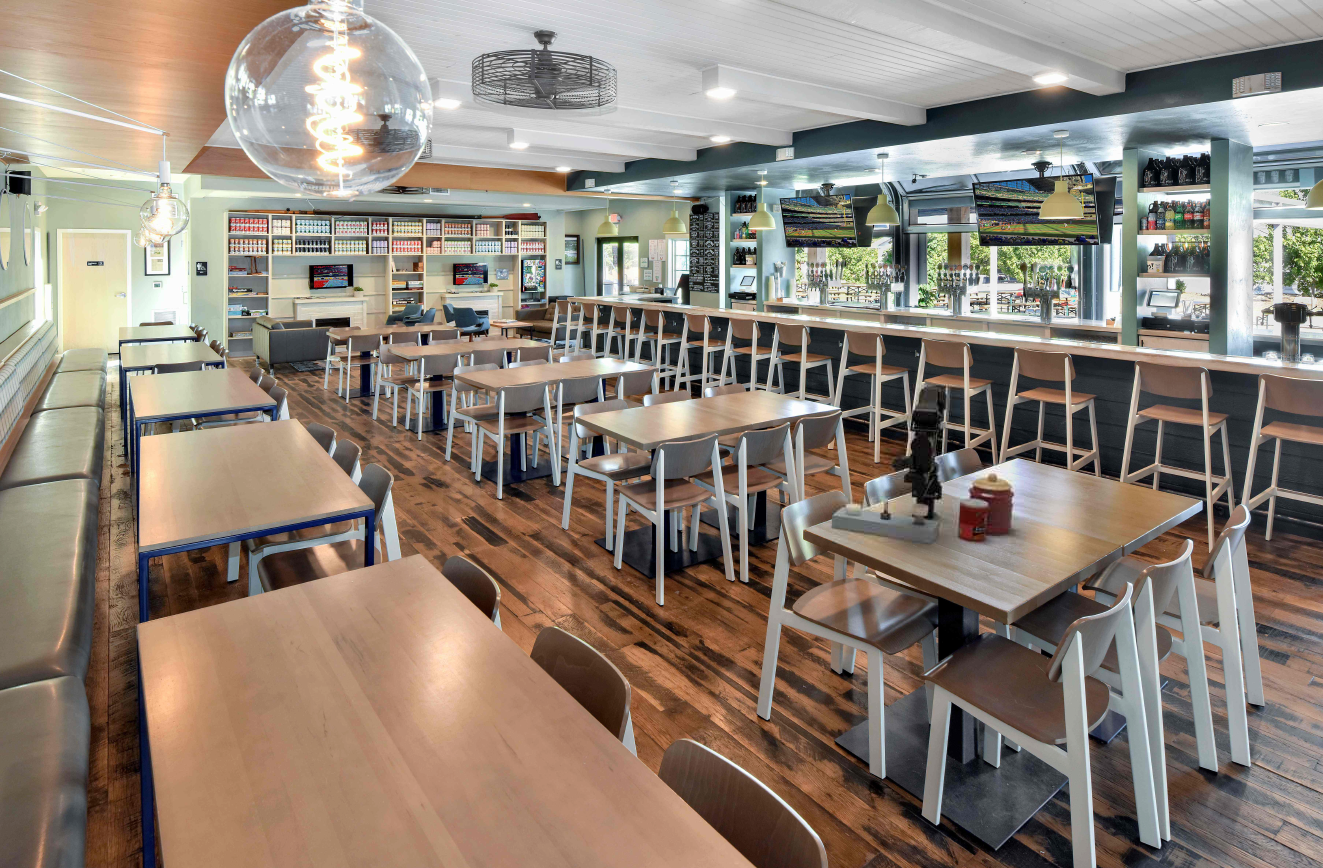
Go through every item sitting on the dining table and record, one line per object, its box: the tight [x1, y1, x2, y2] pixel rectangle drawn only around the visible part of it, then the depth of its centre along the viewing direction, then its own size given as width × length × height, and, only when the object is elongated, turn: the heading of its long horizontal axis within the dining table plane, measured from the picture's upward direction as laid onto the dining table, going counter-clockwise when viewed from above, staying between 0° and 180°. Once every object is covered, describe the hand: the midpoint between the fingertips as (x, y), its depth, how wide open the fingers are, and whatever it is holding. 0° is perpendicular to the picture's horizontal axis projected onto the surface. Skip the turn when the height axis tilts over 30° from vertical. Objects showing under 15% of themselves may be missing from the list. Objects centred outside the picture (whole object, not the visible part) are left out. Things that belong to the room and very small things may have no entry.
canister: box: [968, 472, 1015, 536], centre depth 240 cm, size 13×13×18 cm
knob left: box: [845, 503, 862, 516], centre depth 245 cm, size 5×5×5 cm
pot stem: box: [880, 500, 891, 520], centre depth 239 cm, size 3×3×6 cm
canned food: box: [957, 498, 988, 543], centre depth 233 cm, size 8×8×11 cm
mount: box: [831, 506, 941, 545], centre depth 240 cm, size 10×30×4 cm, turn 59°
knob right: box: [911, 503, 928, 524], centre depth 234 cm, size 5×5×5 cm
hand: (920, 500), depth 233 cm, fingers closed
